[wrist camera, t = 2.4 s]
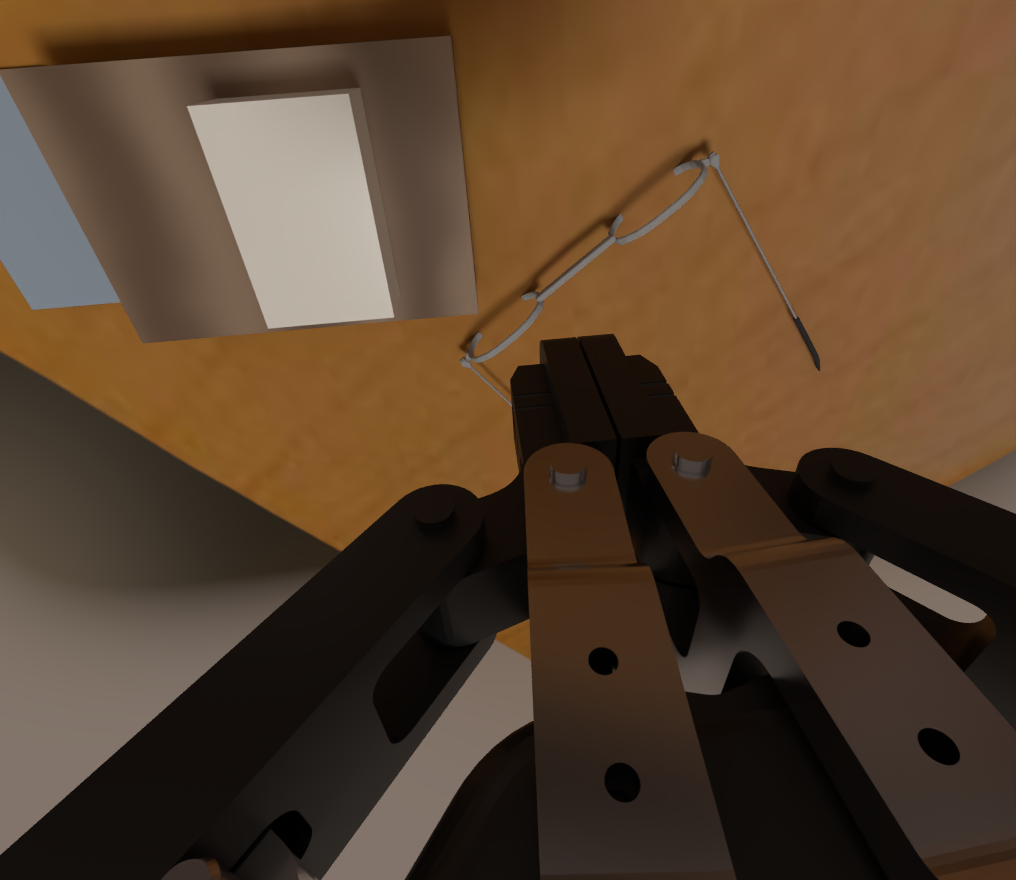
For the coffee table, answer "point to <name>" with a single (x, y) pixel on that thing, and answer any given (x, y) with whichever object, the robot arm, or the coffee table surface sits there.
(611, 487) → the robot arm
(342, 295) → the cream rectangular block
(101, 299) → the mat
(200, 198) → the brown flat block
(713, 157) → the eyeglasses
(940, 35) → the coffee table surface
